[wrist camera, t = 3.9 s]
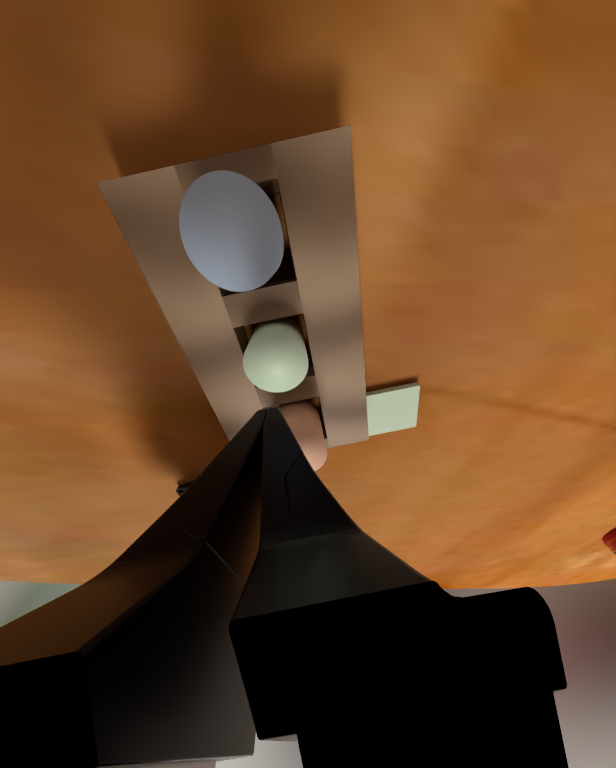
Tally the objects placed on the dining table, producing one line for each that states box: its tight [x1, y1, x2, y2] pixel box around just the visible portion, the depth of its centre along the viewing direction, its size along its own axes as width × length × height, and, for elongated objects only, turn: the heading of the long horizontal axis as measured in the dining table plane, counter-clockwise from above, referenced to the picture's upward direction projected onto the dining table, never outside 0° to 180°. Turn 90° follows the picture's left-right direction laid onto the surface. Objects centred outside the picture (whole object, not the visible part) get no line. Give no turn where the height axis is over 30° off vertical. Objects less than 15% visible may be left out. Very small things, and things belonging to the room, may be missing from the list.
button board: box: [97, 125, 369, 448], centre depth 16 cm, size 20×12×2 cm, turn 11°
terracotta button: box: [278, 400, 327, 471], centre depth 17 cm, size 4×4×4 cm
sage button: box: [243, 317, 308, 393], centre depth 15 cm, size 4×4×4 cm
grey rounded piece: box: [179, 170, 284, 292], centre depth 11 cm, size 4×4×4 cm
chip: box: [366, 382, 420, 436], centre depth 21 cm, size 5×5×1 cm
